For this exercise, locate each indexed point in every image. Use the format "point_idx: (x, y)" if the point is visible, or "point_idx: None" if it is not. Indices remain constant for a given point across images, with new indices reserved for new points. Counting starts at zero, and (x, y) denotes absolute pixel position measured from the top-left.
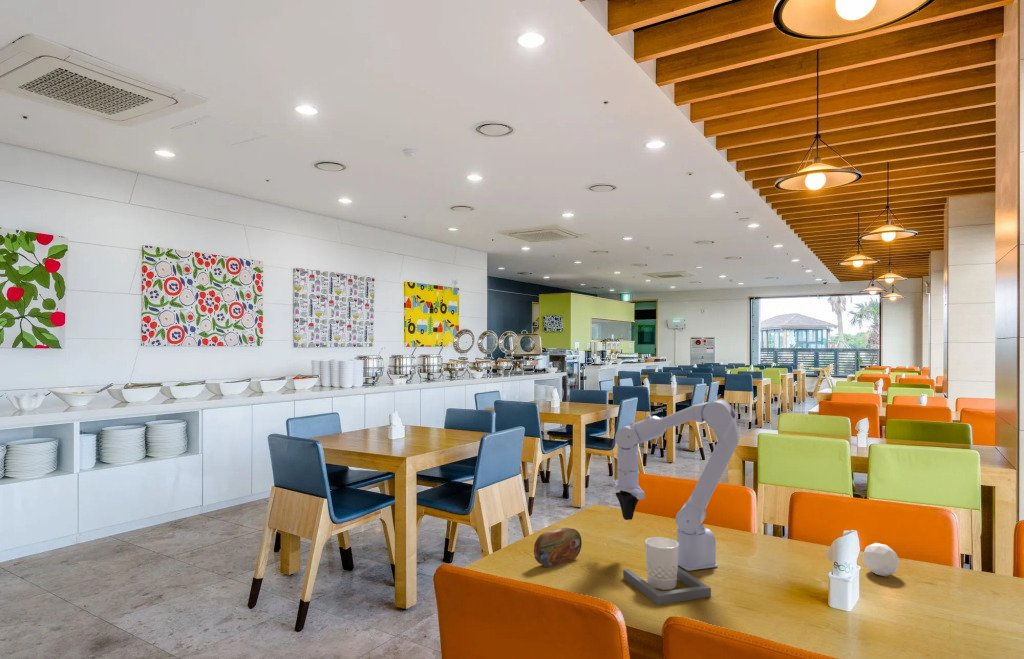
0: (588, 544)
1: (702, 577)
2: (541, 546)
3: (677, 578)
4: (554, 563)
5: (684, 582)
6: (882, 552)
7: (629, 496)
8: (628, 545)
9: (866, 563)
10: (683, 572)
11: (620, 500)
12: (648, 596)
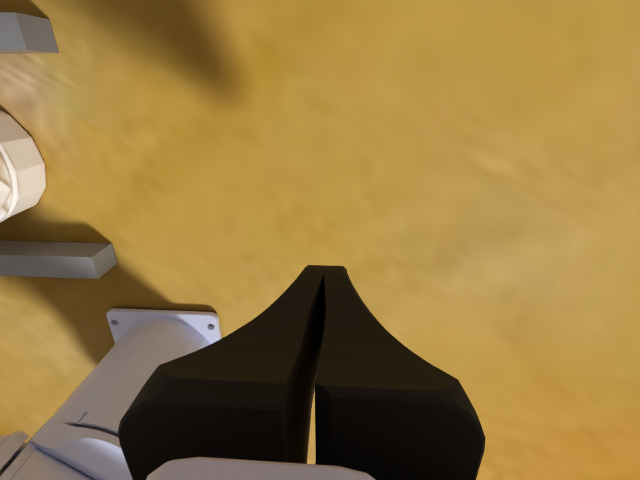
0: (536, 63)
1: (61, 320)
2: None
3: (44, 242)
4: None
5: (2, 242)
6: None
7: (136, 470)
8: (423, 256)
9: None
10: (2, 265)
11: (331, 348)
12: None
